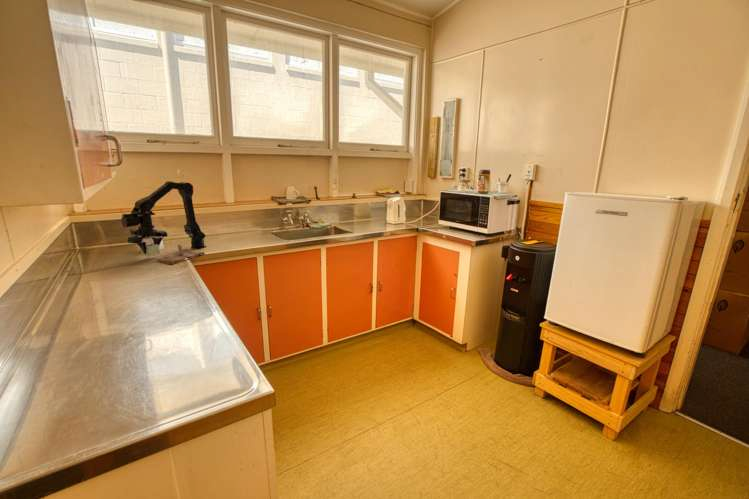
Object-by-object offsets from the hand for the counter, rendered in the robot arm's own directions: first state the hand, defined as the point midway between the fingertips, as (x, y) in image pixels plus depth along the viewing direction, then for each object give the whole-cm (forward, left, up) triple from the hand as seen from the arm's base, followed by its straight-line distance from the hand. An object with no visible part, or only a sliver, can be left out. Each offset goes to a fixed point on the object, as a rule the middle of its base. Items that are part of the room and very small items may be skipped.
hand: (150, 252), depth 189 cm
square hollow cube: (0, 0, -1) cm, 1 cm away
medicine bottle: (-13, -16, -4) cm, 21 cm away
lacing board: (-8, +13, -4) cm, 16 cm away
